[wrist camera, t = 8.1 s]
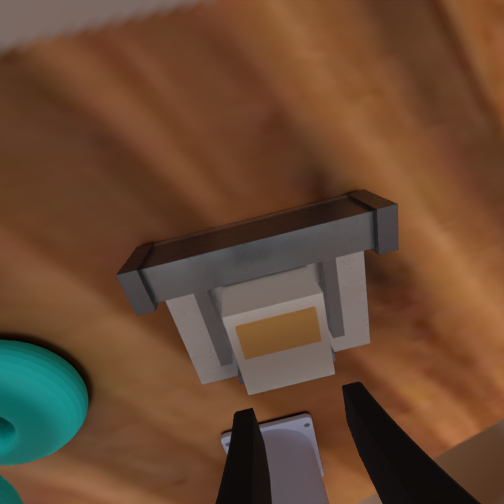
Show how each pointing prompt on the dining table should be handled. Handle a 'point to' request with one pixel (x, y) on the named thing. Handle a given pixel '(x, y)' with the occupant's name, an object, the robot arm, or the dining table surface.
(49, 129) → the dining table surface
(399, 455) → the robot arm
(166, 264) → the rail
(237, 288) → the block
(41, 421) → the donuts
